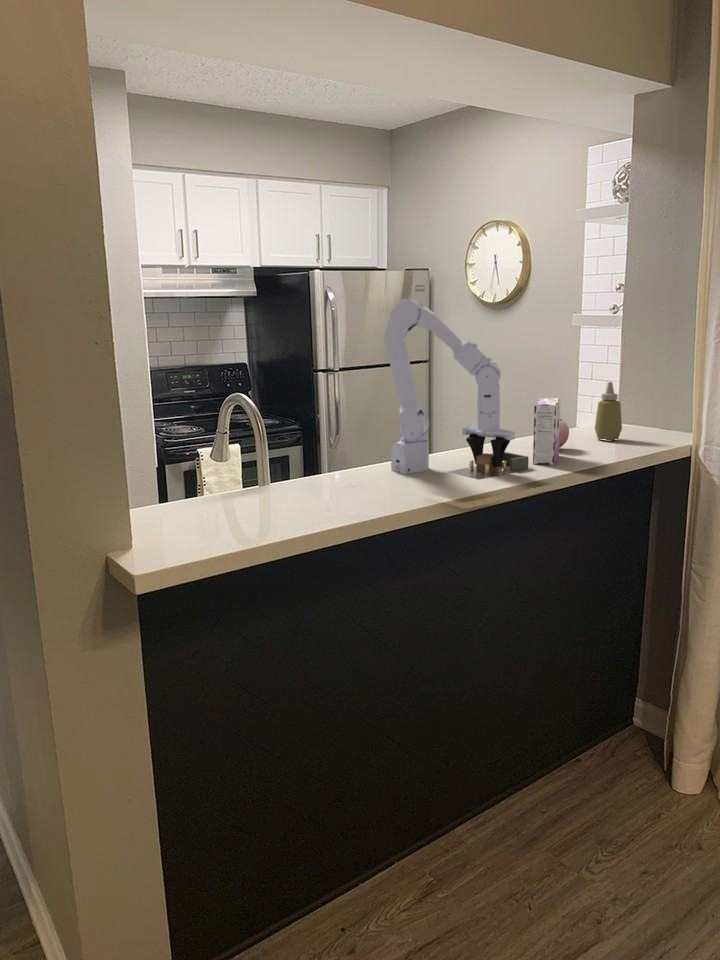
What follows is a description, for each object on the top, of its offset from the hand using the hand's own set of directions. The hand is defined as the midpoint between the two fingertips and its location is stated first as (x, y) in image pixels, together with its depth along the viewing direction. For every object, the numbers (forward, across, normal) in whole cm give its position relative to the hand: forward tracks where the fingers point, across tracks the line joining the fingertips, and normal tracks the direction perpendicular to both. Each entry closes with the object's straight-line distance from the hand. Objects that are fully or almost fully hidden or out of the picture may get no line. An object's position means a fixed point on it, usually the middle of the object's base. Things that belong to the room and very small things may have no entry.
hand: (487, 465), depth 197 cm
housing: (+1, +1, +7) cm, 7 cm away
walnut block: (+1, 0, 0) cm, 1 cm away
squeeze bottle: (+3, 0, +64) cm, 64 cm away
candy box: (+3, +1, +26) cm, 26 cm away
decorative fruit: (+3, -5, +40) cm, 41 cm away
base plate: (+3, 0, +1) cm, 3 cm away
